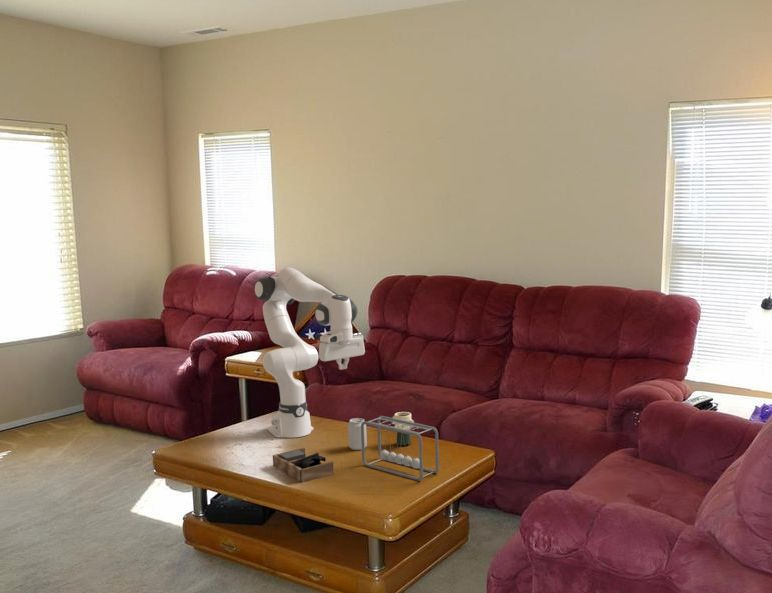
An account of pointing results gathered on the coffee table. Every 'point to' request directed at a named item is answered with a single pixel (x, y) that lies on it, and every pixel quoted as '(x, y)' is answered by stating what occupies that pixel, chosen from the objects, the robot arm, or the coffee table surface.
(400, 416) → the character mug
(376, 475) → the coffee table surface
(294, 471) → the walnut organizer
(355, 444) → the can
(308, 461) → the end cap
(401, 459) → the newton's cradle
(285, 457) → the block
